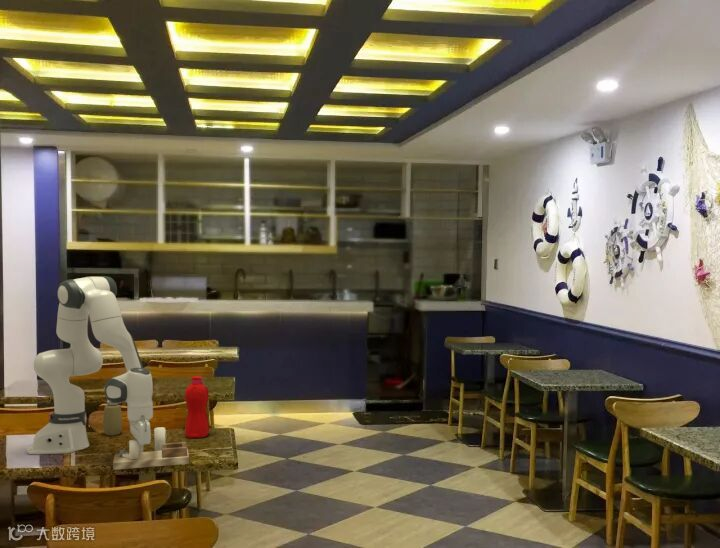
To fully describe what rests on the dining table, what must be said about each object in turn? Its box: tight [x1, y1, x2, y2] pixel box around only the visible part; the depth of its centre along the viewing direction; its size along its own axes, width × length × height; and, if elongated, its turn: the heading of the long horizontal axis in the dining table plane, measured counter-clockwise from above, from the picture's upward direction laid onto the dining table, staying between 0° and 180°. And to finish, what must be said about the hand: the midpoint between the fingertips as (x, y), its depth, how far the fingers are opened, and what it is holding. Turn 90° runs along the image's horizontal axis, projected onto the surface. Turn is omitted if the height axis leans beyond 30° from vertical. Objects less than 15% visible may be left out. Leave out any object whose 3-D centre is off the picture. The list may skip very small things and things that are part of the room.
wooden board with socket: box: [112, 441, 190, 471], centre depth 259 cm, size 26×12×5 cm, turn 106°
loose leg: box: [153, 426, 166, 451], centre depth 273 cm, size 4×4×9 cm
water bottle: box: [184, 375, 213, 439], centre depth 298 cm, size 9×11×25 cm
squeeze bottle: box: [102, 399, 124, 437], centre depth 301 cm, size 8×8×18 cm
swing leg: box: [119, 438, 139, 460], centre depth 256 cm, size 9×3×6 cm, turn 57°
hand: (140, 451), depth 257 cm, fingers closed
